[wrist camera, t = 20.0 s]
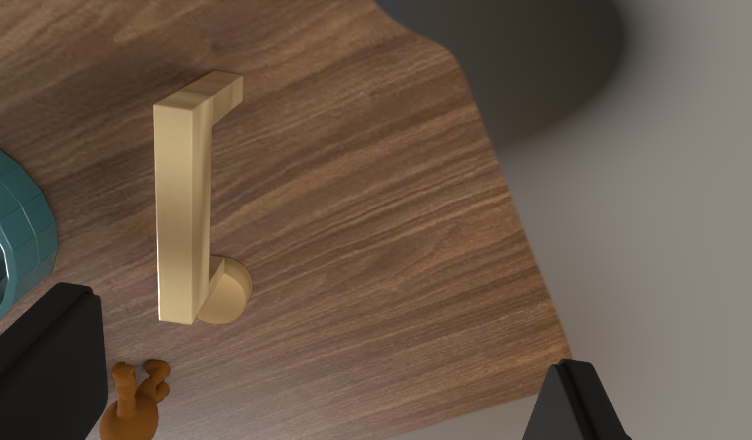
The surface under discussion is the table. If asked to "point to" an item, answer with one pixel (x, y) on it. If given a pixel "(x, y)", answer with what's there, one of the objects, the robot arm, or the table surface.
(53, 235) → the bowl
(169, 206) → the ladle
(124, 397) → the toy figurine
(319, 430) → the table surface
